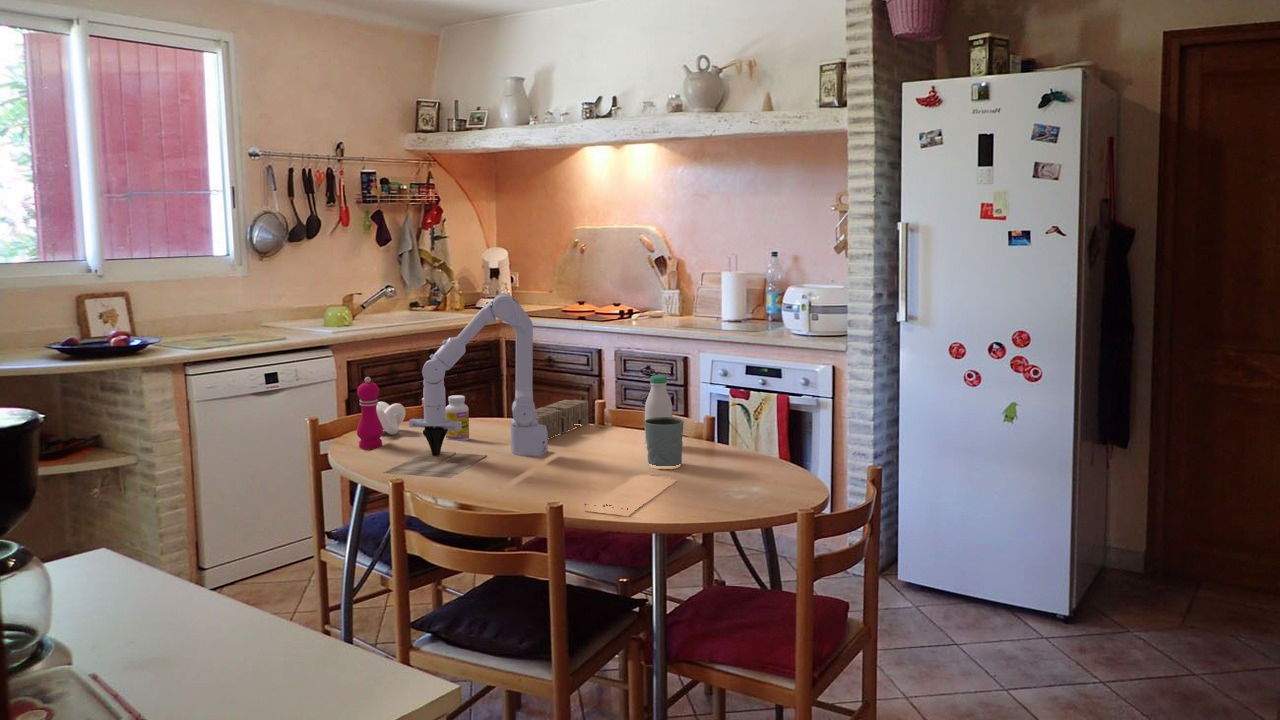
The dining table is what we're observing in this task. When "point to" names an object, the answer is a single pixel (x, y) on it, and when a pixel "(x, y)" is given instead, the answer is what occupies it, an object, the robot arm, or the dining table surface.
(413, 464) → the grey slab
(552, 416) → the block tower
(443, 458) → the plank
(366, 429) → the pepper mill
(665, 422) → the grey-green tapered open cylinder
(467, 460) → the plank
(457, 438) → the supplement bottle
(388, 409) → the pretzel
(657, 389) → the milk bottle
